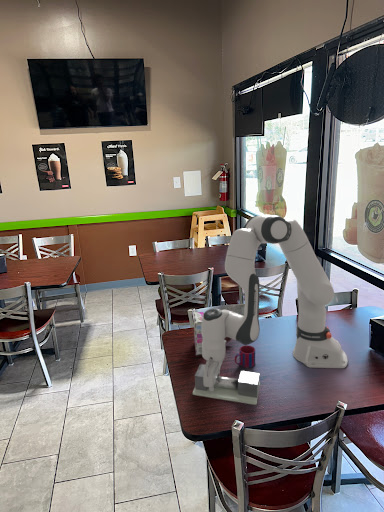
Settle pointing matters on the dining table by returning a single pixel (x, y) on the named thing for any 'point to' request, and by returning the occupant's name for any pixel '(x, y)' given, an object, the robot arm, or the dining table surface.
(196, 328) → the candy bar box
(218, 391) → the board
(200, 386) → the socket
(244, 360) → the mug
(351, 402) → the dining table surface
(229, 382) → the tube
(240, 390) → the dark grey cube cap
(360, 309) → the dining table surface
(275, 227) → the robot arm
